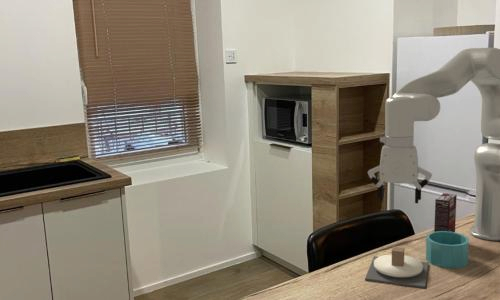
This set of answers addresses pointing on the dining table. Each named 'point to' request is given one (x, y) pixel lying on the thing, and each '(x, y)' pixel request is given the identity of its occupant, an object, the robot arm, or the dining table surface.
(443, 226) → the supplement box
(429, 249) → the bowl
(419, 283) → the mat
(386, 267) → the lid
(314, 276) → the dining table surface
